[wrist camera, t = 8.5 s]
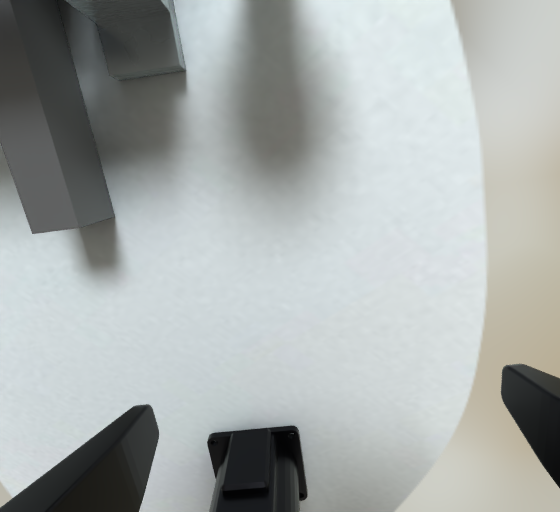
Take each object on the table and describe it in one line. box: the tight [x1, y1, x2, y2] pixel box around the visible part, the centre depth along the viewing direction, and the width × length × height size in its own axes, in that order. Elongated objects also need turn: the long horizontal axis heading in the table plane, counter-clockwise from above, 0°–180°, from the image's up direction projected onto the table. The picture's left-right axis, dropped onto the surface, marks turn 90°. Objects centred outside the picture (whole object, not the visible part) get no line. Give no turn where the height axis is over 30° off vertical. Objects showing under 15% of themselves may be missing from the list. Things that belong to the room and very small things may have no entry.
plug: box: [0, 0, 115, 234], centre depth 15 cm, size 16×4×5 cm, turn 7°
